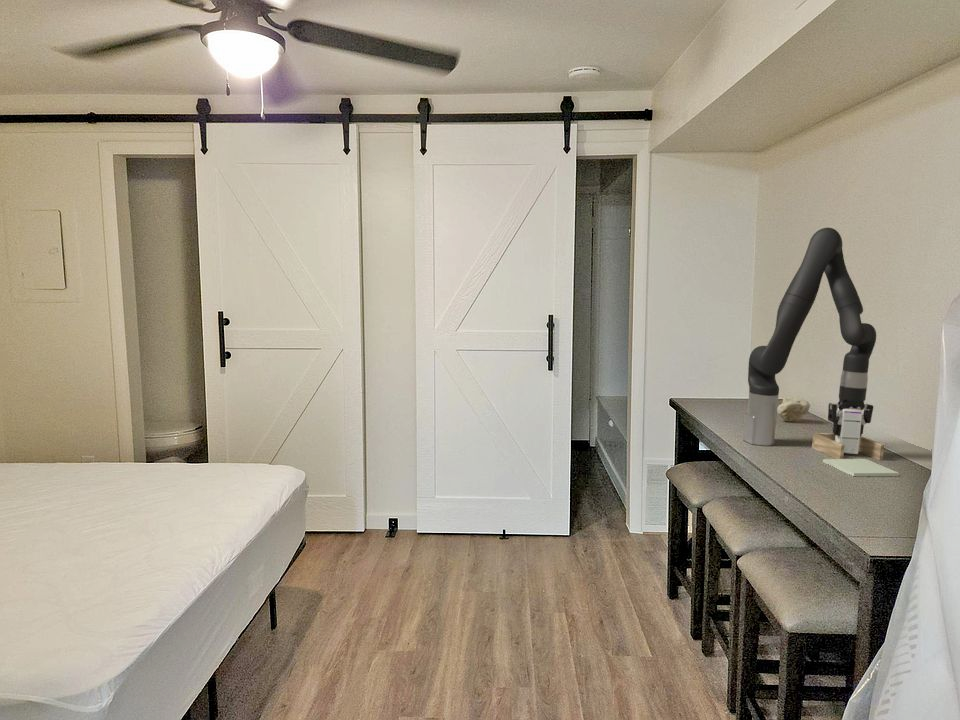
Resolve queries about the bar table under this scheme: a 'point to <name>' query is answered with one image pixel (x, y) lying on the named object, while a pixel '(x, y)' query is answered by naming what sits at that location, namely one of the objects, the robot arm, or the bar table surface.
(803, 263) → the robot arm
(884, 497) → the bar table surface
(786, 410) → the decorative item
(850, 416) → the syrup box
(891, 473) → the sage mat
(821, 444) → the u-shaped pine frame
